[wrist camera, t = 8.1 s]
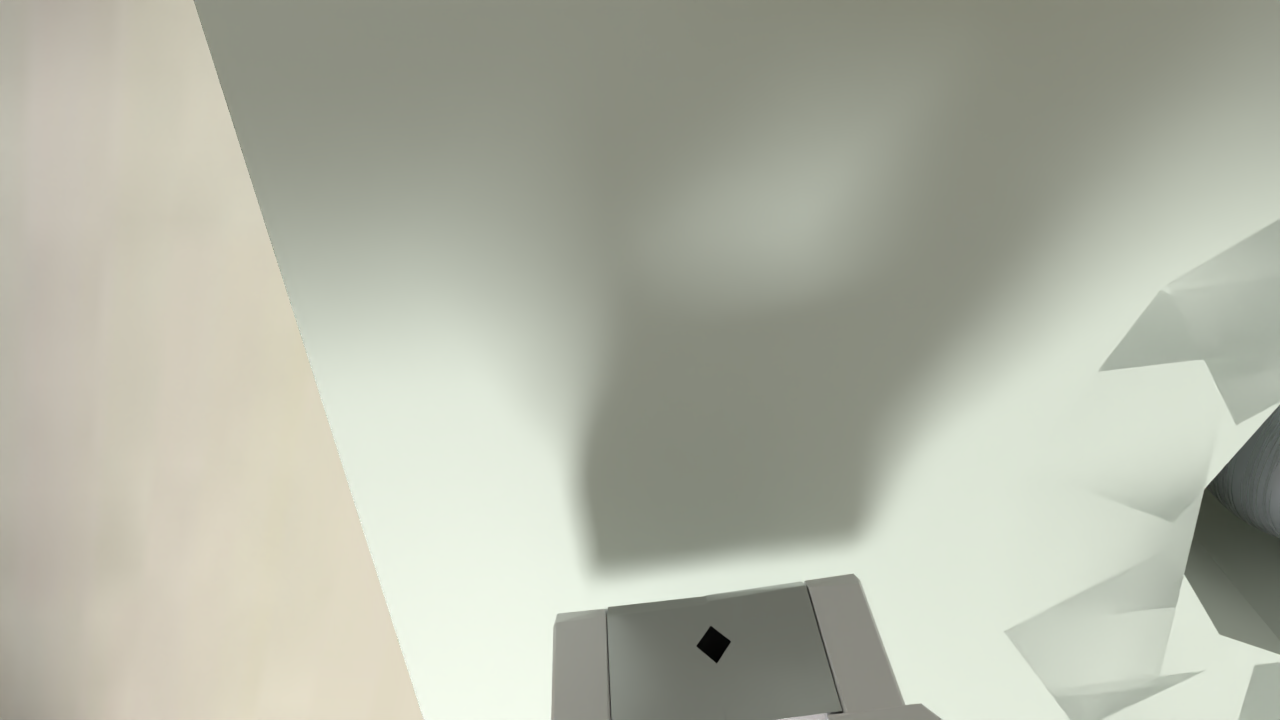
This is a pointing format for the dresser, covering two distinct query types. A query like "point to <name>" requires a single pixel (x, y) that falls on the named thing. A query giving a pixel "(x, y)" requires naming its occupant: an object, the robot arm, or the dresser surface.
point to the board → (792, 324)
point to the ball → (1254, 479)
